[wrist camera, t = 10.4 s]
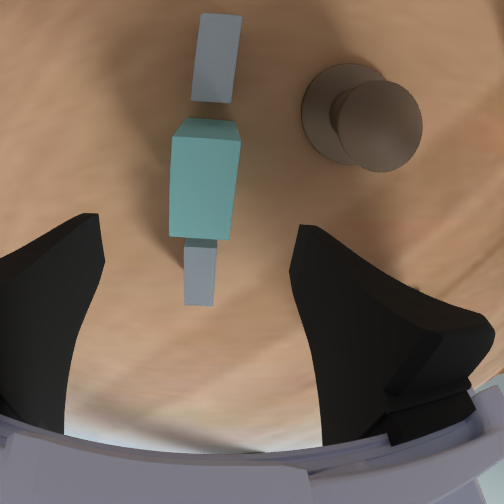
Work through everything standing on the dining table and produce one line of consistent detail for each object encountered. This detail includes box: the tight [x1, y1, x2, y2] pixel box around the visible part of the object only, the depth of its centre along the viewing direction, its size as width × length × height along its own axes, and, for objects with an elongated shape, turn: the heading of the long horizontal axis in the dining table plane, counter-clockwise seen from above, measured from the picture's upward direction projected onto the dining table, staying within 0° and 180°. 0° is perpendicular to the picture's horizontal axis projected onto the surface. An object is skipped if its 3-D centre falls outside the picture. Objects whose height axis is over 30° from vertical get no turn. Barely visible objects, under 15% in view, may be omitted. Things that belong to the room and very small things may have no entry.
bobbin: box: [301, 64, 423, 172], centre depth 16 cm, size 7×7×4 cm
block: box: [169, 118, 241, 240], centre depth 16 cm, size 5×3×6 cm, turn 172°
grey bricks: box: [184, 13, 243, 306], centre depth 17 cm, size 18×2×4 cm, turn 173°
